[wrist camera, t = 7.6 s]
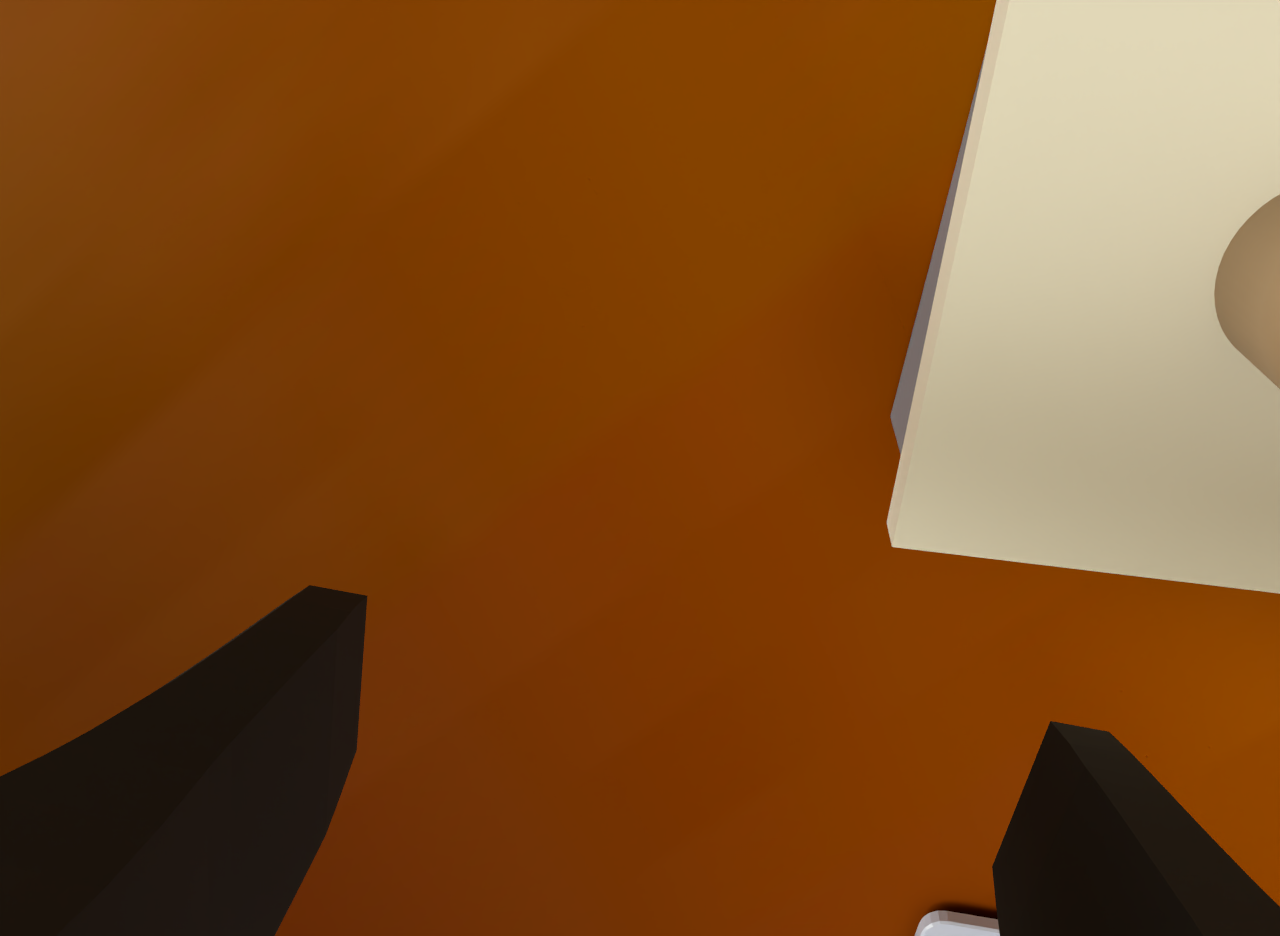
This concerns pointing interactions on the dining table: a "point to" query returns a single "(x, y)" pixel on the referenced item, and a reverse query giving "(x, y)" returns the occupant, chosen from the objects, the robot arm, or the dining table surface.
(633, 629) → the dining table surface
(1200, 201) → the lid
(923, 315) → the light blue square dish
